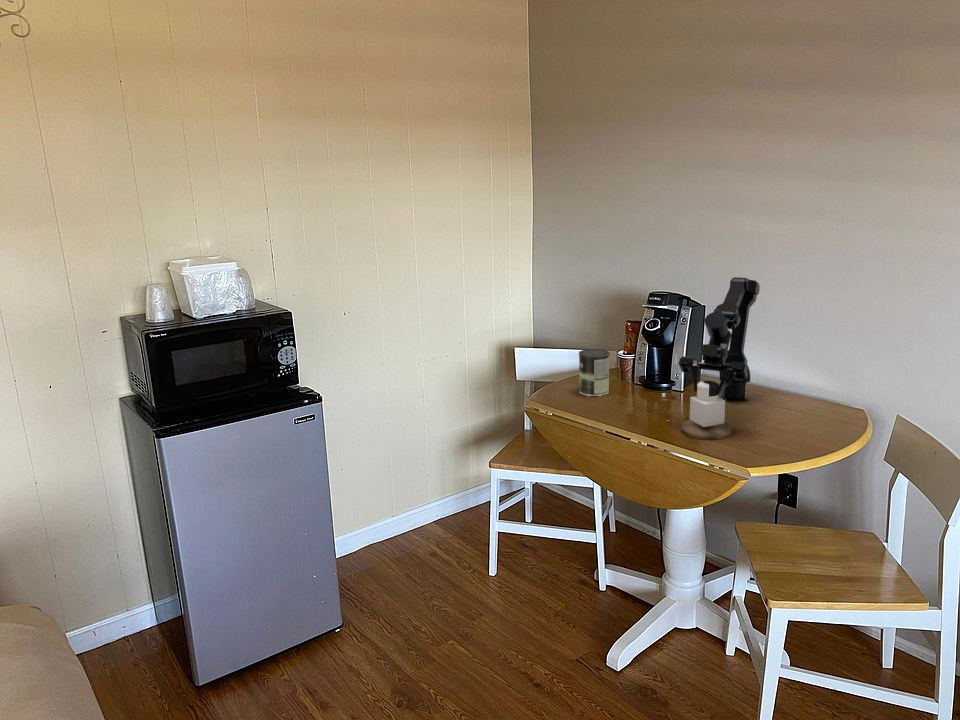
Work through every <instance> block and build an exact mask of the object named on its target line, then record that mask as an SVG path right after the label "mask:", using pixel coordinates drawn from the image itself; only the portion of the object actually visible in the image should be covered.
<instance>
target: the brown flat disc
mask: <svg viewBox="0 0 960 720" xmlns="http://www.w3.org/2000/svg"><path fill="white" fill-rule="evenodd" d="M680 430H681V433H682V434H684V435H685V434H686V436H687V435H688V436H689V437H690V438H693V437H694V439H699V440H705V441H706V440H708V441H710V440H711V441H713V440H721V439H726V438H728V437H730V436H731V435H732V425H731V424H730V423H728V422H727V421H724V423H723V424H718V425H713V426H708V427H703V426H701V425H699V424H697V423H695V422H693V421H691V420H690V418H689V419H686V420H684V421H682V422H681V429H680Z"/></svg>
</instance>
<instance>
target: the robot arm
mask: <svg viewBox="0 0 960 720" xmlns="http://www.w3.org/2000/svg"><path fill="white" fill-rule="evenodd" d="M760 288H761V286H760V283H759V282H757V280H755V279H754V280H753V279H749V278H747V277H741V276H739V277H737V276H734V277H732V278H731V280H729V288H728V291H727V293H726V296H725V298H724V299H723V302H722V303H720V304H718V305H717V306H716V307H715V308H714V310H713V312H711V313H709V314H707V315H706V317H705V318H704V325H705V329H706V331H707V335H708V336H709V337H710V338H709V340H708V341H709V342H708V343H707V344H702V346H701V352H700V356H701V359H702V361H703V362H702V361H700V362H699V361H697V360H696V359H695V357H694V356H686V355H684V356H681V357H680V358H679V361H678V365H679V368H680V370H681V372H682V373H684V374H689V376H691V377H692V378H693V388H694V389H693V390H694V393H696V394H697V384H698V383H699V382H701V381H700V380H701V372H700V370H706V371H713V372H714V371H715V372H719V380H720V382H719V383H718V384H719V387H718V392H717V395H719V396H721V398H722V399H723V400H725V401H726V402H741V401H747V400H748V398H747V397H746V384H747V383H750V382H751V370H750V368H749V364H748V359H747V356H746V355H745V352H744V351H745V345H746V335H747V328H748V322H749V314H750V309H751V307H752V306H753V305H754V303H756V301H757V296H758V295H759V293H760V291H761V289H760ZM730 330H731V331H730Z"/></svg>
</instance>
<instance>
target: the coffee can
mask: <svg viewBox="0 0 960 720" xmlns="http://www.w3.org/2000/svg"><path fill="white" fill-rule="evenodd" d="M578 358H579V359H578V360H579V361H578V363H579V365H578V368H579V369H578V373H579V374H578V377H579V378H578V381H579V384H578V386H579V387H578V393H579V395H582V396H586V397H591V396H595V398H596V396H598V397H604V396H606V394H607V395H609V392H610V390H609V389H610V388H609V387H610V386H609V385H610V351H608V350H606V349H602V348H587V349H582V350H580V351H578ZM603 395H604V396H603Z"/></svg>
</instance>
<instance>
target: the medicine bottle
mask: <svg viewBox="0 0 960 720" xmlns="http://www.w3.org/2000/svg"><path fill="white" fill-rule="evenodd" d="M719 384H720V383H718V382H717V381H714V380H702V381H699V383H698V384H697V393H696V396H690V398H689V400H690V401H689V419H690V420H691V421H693V422H695V423H697V424H699V425H701V426H703V427H708V426H713V425H718V424H723V423H724V422H725V419H726V418H725V416H726V415H725V414H726V413H725V412H726V399H724V398H722V397H720V395H717V392H718V387H719Z"/></svg>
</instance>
